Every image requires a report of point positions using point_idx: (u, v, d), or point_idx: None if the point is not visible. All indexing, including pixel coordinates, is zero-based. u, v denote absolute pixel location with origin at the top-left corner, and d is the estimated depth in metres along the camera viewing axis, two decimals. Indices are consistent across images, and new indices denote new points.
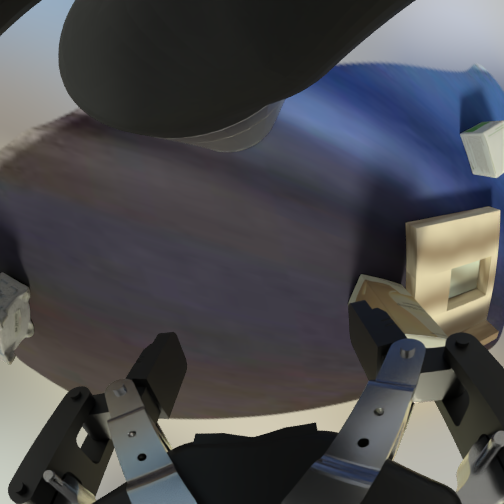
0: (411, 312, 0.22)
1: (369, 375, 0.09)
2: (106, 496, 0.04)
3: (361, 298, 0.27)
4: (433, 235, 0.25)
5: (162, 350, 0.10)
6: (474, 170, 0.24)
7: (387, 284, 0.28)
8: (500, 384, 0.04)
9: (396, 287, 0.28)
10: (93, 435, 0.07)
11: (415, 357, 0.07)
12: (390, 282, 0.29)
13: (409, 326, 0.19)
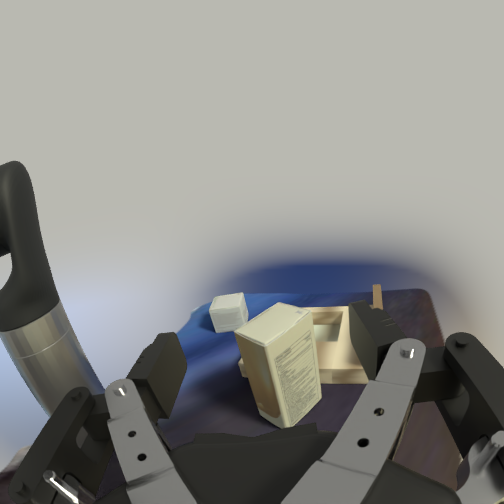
0: None
1: (369, 375, 0.09)
2: (106, 496, 0.04)
3: (265, 407, 0.25)
4: None
5: (162, 350, 0.10)
6: (240, 326, 0.46)
7: None
8: (499, 384, 0.04)
9: None
10: (93, 435, 0.07)
11: (415, 357, 0.07)
12: None
13: None
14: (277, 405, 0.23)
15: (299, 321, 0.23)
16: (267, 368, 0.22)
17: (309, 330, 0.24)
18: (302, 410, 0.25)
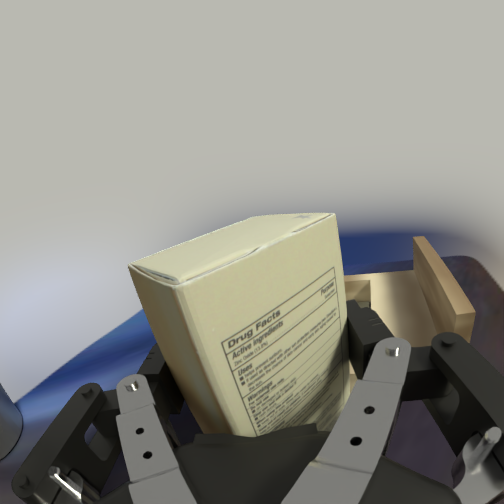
0: None
1: (357, 373, 0.09)
2: (106, 496, 0.04)
3: None
4: None
5: None
6: None
7: None
8: (489, 381, 0.04)
9: None
10: (102, 432, 0.07)
11: (400, 356, 0.07)
12: None
13: None
14: None
15: (306, 231, 0.08)
16: (200, 374, 0.06)
17: (332, 268, 0.09)
18: None
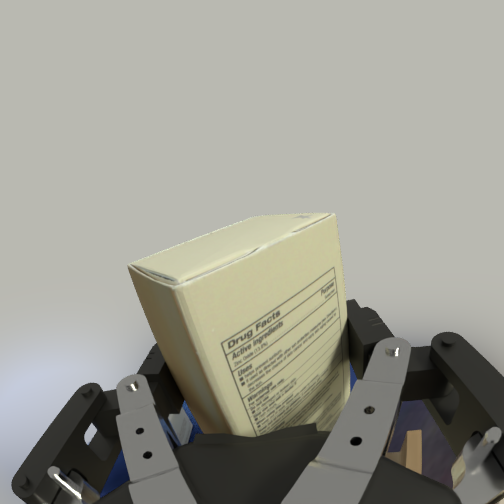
0: None
1: (357, 373, 0.09)
2: (106, 496, 0.04)
3: None
4: None
5: None
6: None
7: None
8: (489, 381, 0.04)
9: None
10: (102, 432, 0.07)
11: (400, 356, 0.07)
12: None
13: None
14: None
15: (305, 231, 0.08)
16: (200, 374, 0.06)
17: (332, 268, 0.09)
18: None
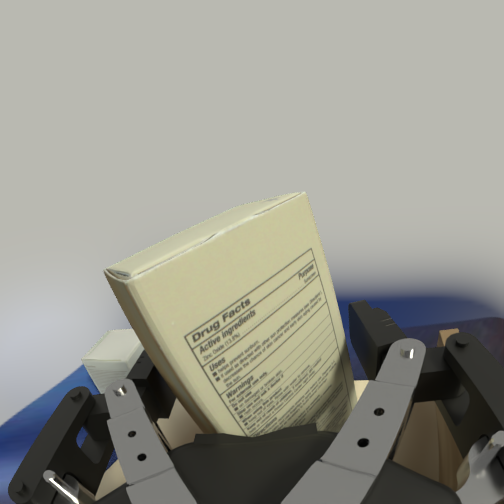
0: None
1: (369, 375, 0.09)
2: (106, 496, 0.04)
3: None
4: (108, 491, 0.09)
5: None
6: None
7: None
8: (499, 384, 0.04)
9: None
10: (93, 435, 0.07)
11: (415, 357, 0.07)
12: None
13: None
14: None
15: (270, 212, 0.08)
16: (171, 371, 0.06)
17: (309, 250, 0.09)
18: None
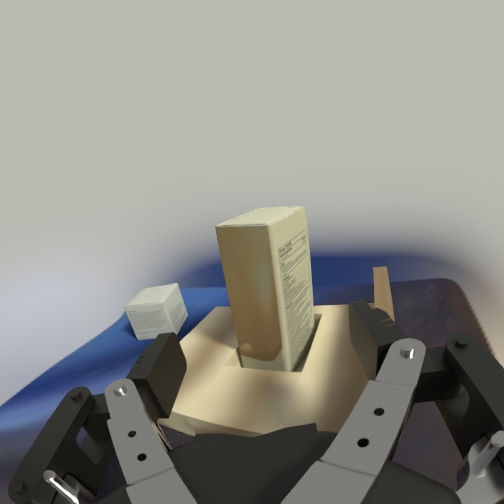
0: None
1: (369, 375, 0.09)
2: (106, 496, 0.04)
3: (256, 347, 0.20)
4: None
5: (162, 350, 0.10)
6: (168, 332, 0.30)
7: None
8: (499, 384, 0.04)
9: None
10: (93, 435, 0.07)
11: (415, 357, 0.07)
12: None
13: None
14: (278, 332, 0.18)
15: (297, 212, 0.19)
16: (268, 265, 0.17)
17: (304, 230, 0.21)
18: (301, 349, 0.21)
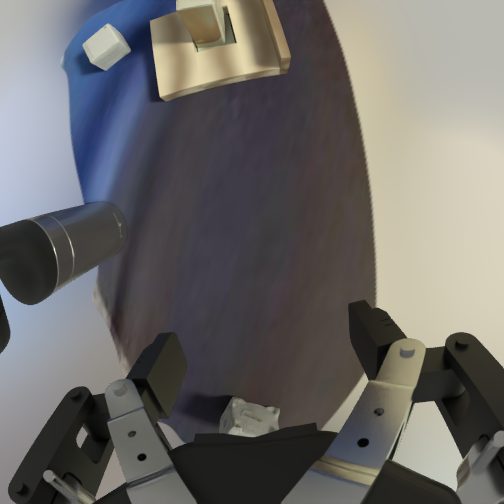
0: None
1: (369, 375, 0.09)
2: (106, 496, 0.04)
3: (206, 39, 0.29)
4: (165, 80, 0.31)
5: (162, 350, 0.10)
6: (126, 52, 0.31)
7: None
8: (500, 384, 0.04)
9: None
10: (93, 435, 0.07)
11: (415, 357, 0.07)
12: None
13: None
14: (219, 32, 0.27)
15: None
16: (212, 15, 0.23)
17: None
18: (224, 28, 0.30)
